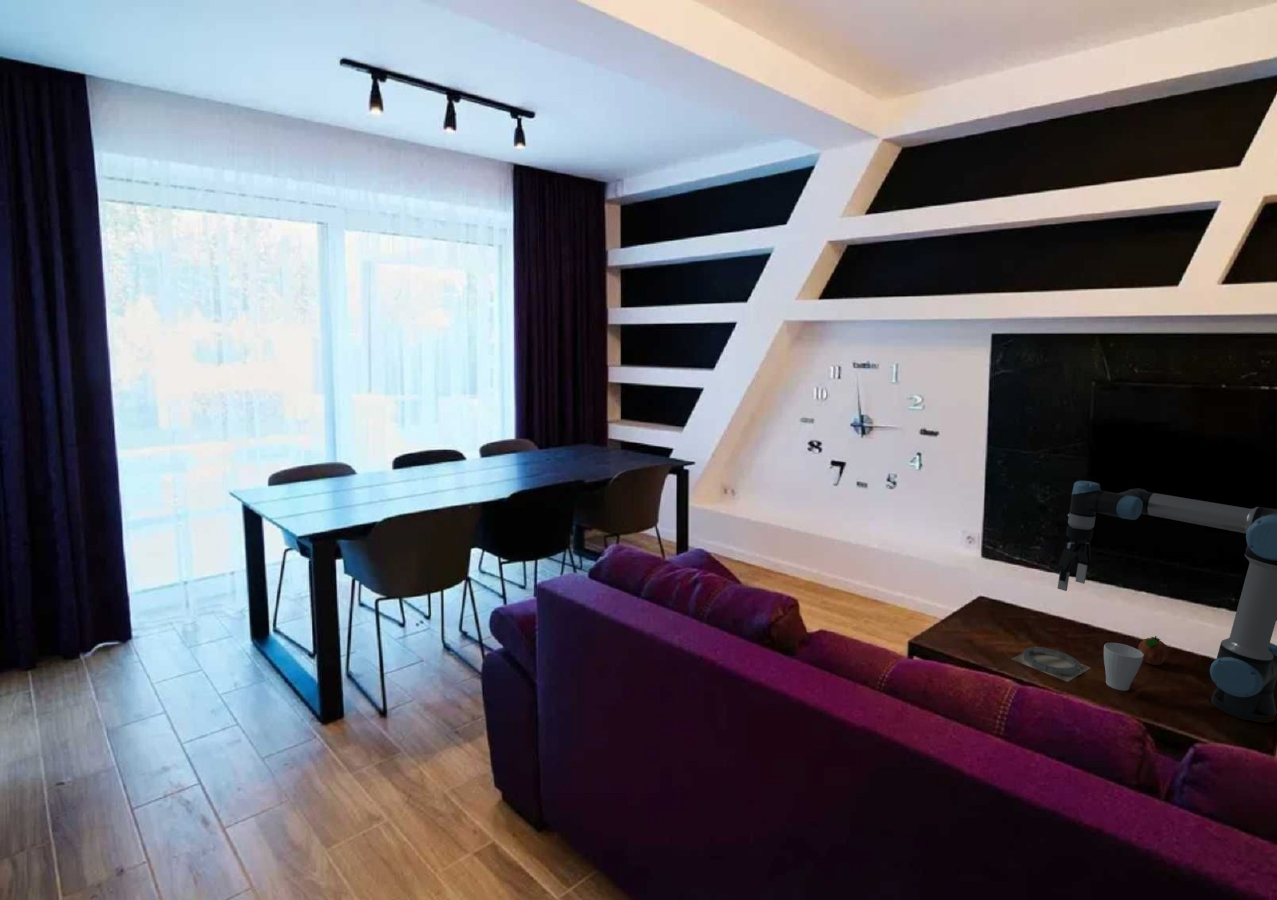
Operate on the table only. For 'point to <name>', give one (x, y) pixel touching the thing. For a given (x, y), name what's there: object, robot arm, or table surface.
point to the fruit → (1153, 651)
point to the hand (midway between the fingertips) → (1071, 586)
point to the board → (1052, 664)
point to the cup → (1121, 665)
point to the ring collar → (1050, 669)
